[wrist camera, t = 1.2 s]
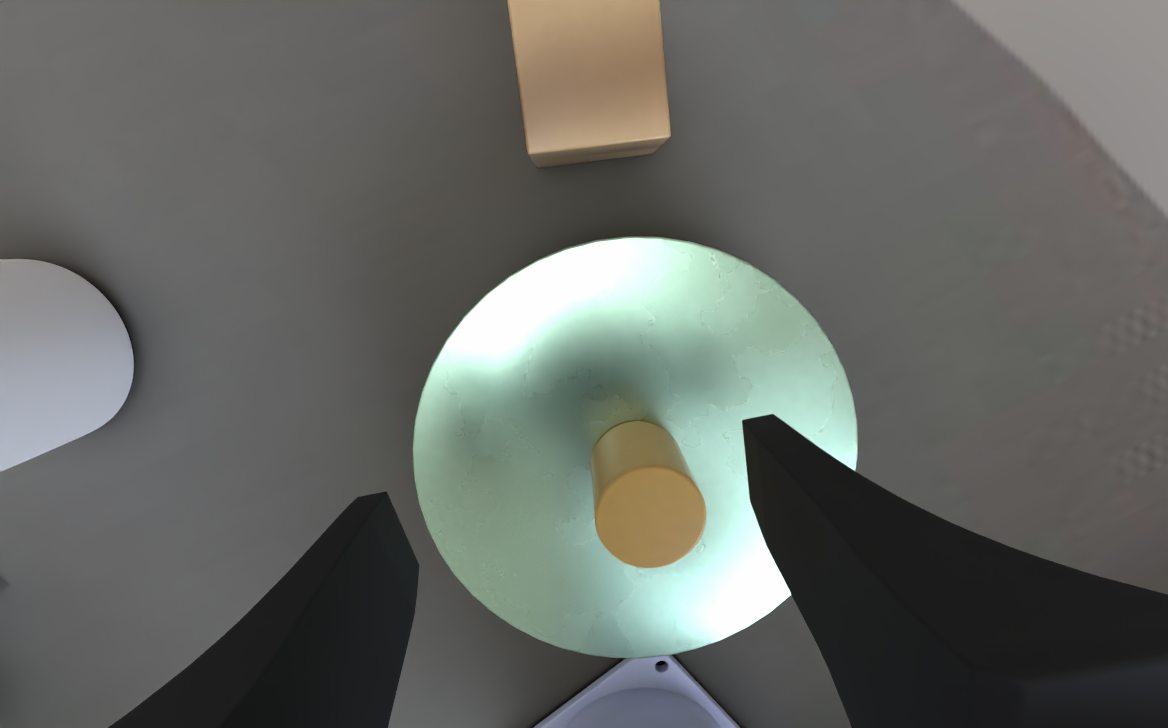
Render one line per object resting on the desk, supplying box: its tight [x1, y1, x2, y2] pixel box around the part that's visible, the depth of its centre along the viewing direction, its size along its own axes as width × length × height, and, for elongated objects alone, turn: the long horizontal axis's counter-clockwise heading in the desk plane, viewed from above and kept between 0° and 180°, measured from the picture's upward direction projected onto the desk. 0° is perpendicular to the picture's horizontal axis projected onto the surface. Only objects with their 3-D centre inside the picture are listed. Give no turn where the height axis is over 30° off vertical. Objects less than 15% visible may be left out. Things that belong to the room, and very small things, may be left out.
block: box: [507, 0, 671, 168], centre depth 19 cm, size 4×4×4 cm
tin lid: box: [412, 236, 858, 658], centre depth 17 cm, size 13×13×4 cm
